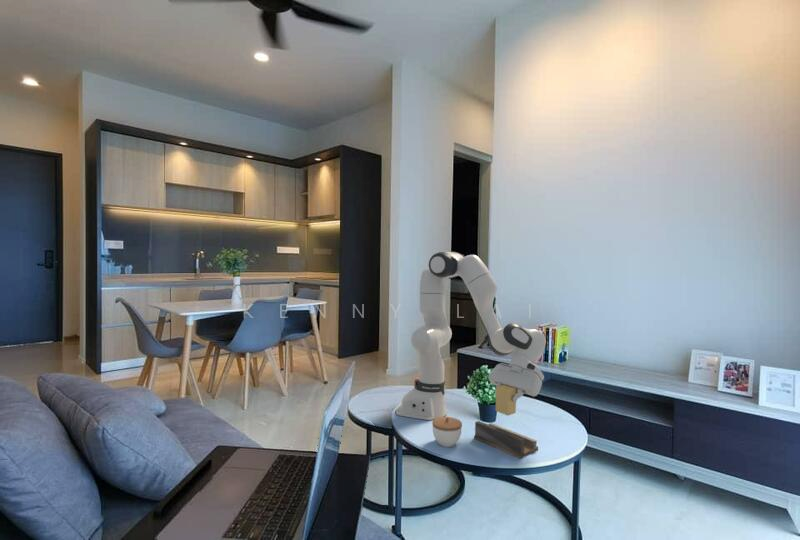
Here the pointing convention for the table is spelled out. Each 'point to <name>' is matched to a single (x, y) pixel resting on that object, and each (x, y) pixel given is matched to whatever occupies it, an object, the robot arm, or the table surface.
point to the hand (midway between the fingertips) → (504, 398)
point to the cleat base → (504, 439)
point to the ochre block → (505, 400)
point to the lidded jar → (447, 430)
